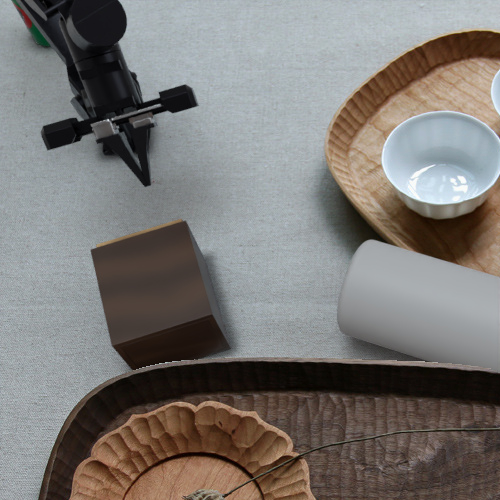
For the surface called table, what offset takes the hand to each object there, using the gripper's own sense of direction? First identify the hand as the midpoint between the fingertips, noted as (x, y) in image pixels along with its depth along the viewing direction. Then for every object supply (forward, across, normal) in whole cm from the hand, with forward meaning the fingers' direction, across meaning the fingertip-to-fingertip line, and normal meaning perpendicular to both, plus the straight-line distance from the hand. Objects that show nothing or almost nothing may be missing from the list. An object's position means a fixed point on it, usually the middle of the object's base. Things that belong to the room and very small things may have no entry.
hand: (148, 186), depth 103 cm
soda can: (-24, +11, -41) cm, 48 cm away
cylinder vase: (+18, -21, +9) cm, 29 cm away
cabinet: (+17, +3, 0) cm, 17 cm away
